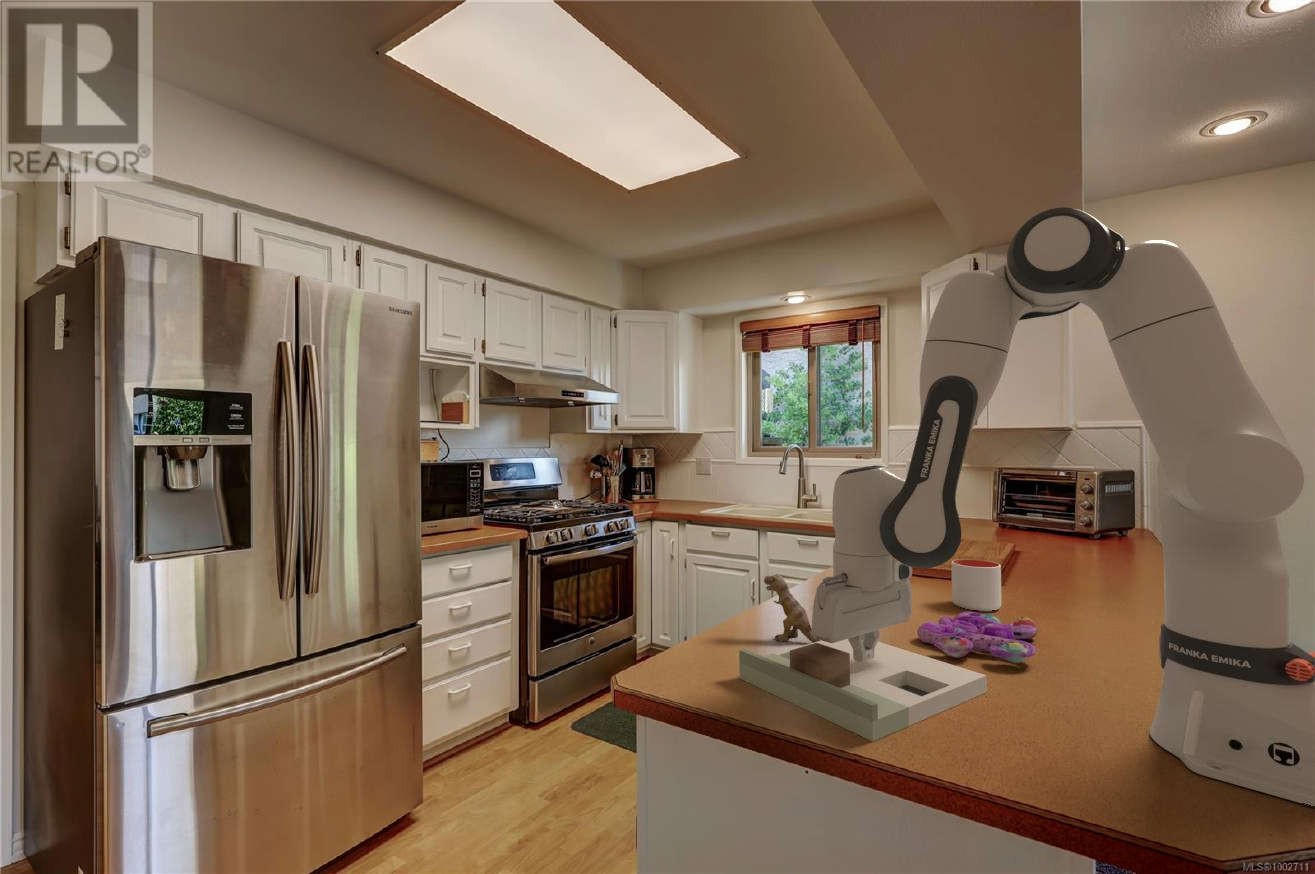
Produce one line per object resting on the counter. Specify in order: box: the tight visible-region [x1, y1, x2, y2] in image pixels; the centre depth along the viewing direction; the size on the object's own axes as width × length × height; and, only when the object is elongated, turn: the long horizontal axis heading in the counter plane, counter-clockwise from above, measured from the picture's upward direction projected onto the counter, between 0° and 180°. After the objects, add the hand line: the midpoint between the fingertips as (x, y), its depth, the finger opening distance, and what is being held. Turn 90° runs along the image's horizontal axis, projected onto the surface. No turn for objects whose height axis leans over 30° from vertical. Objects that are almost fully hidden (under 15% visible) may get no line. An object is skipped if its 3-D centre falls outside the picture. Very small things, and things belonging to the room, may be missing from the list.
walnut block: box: [790, 643, 850, 688], centre depth 88 cm, size 6×6×4 cm
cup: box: [950, 558, 1002, 612], centre depth 139 cm, size 10×10×10 cm
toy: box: [763, 573, 822, 643], centre depth 116 cm, size 7×17×10 cm
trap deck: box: [738, 639, 988, 742], centre depth 94 cm, size 25×27×4 cm
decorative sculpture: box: [916, 611, 1038, 664], centre depth 113 cm, size 29×5×20 cm
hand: (863, 659), depth 94 cm, fingers closed
